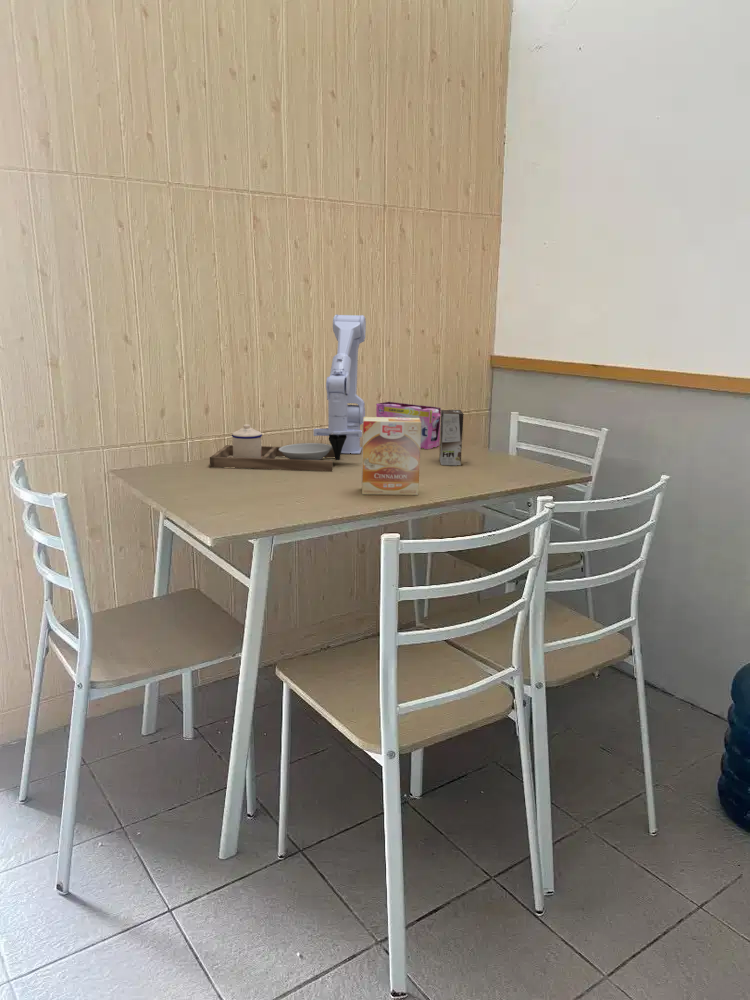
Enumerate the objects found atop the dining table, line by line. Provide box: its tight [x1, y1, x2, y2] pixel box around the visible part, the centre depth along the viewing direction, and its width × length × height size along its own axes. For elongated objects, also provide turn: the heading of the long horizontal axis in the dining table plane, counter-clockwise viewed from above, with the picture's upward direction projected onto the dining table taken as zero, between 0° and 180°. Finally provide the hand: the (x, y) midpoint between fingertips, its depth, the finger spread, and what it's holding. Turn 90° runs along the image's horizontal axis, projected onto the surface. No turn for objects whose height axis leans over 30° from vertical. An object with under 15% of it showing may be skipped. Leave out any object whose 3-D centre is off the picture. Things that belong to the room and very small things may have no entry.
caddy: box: [209, 444, 335, 472], centre depth 230 cm, size 19×36×3 cm, turn 86°
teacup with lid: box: [231, 423, 263, 458], centre depth 230 cm, size 12×9×12 cm
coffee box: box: [438, 409, 464, 466], centre depth 233 cm, size 9×6×16 cm
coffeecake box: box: [361, 416, 421, 496], centre depth 196 cm, size 15×7×20 cm, turn 91°
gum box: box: [375, 401, 442, 450], centre depth 262 cm, size 24×8×14 cm, turn 52°
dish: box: [279, 442, 333, 460], centre depth 229 cm, size 18×14×5 cm
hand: (337, 459), depth 229 cm, fingers closed
